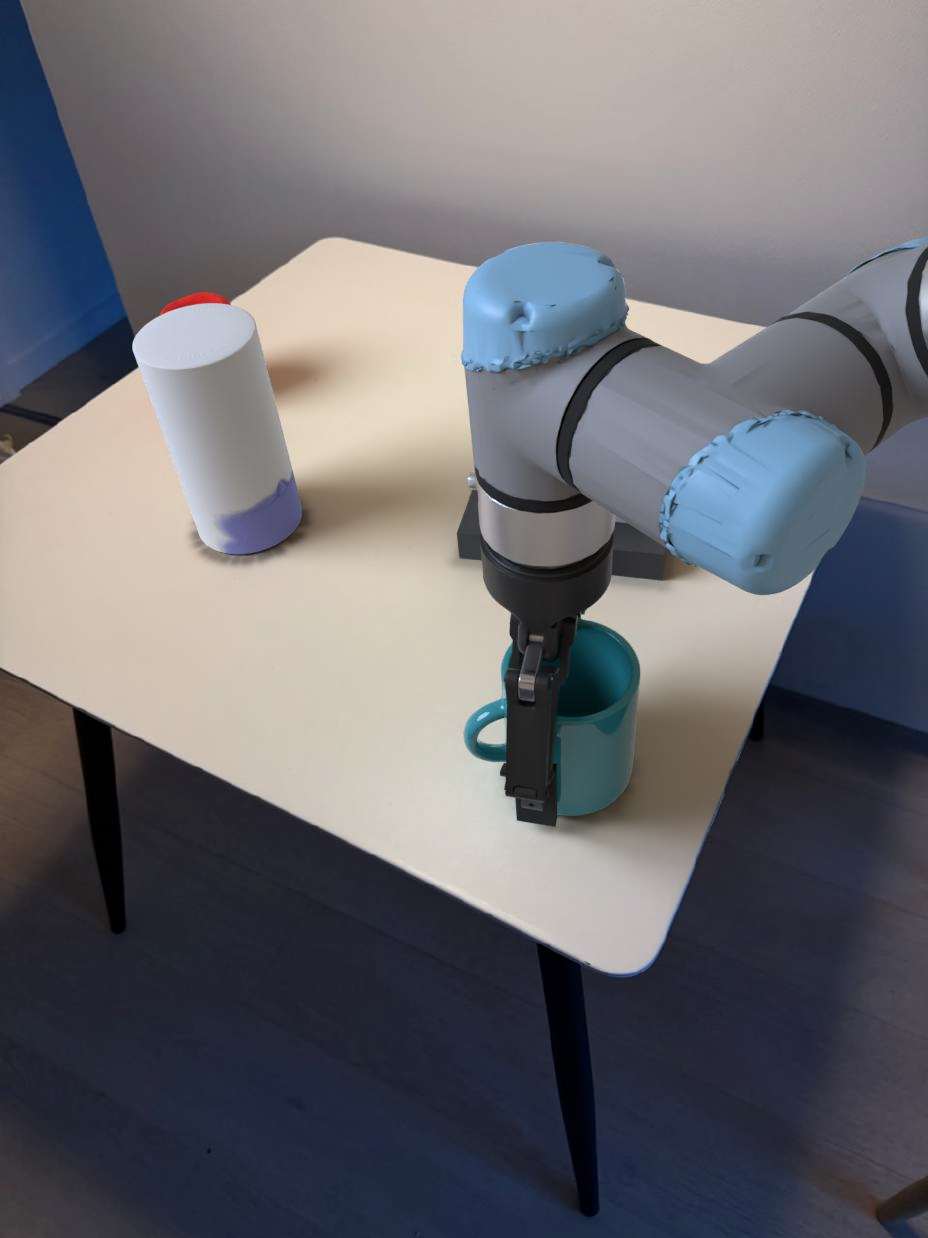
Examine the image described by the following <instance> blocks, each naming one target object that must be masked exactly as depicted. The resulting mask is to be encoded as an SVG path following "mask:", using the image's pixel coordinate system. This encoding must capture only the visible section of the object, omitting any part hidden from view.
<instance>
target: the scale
mask: <svg viewBox="0 0 928 1238" xmlns="http://www.w3.org/2000/svg"><path fill="white" fill-rule="evenodd" d="M456 531H457V532H456V540H457V549H458V557H459V559H466V560H477V561H482V558H481V546H480V533H481V529H480V524H479V512H478V491H477V490H471V492H470V495H469V498H468V500H467V503H466V506H465V508H464V512H463V514H462V518H461V520H460V522H459V525H458V528H457V530H456ZM613 535H614V540H613V561H612V576H619V577H629V578H639V579H647V580H655V581H663V580H664V574H665V573H664V572H665V566H666V559H667V552H668V549H667V548H666V547H664V546H662V545H661V544H659V543H658V542H656V541H655V540H653V539H652V538H650V537H648V536H647V535H645V534H644V533H642V532H641V531H639V530H638V529H636V528H634V527H633V526H631V525H630V524H628V523H627V522H625V521H624V520H622V519H620V518H619V517H617V516H616V519H615V527H614V530H613Z"/></svg>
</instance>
